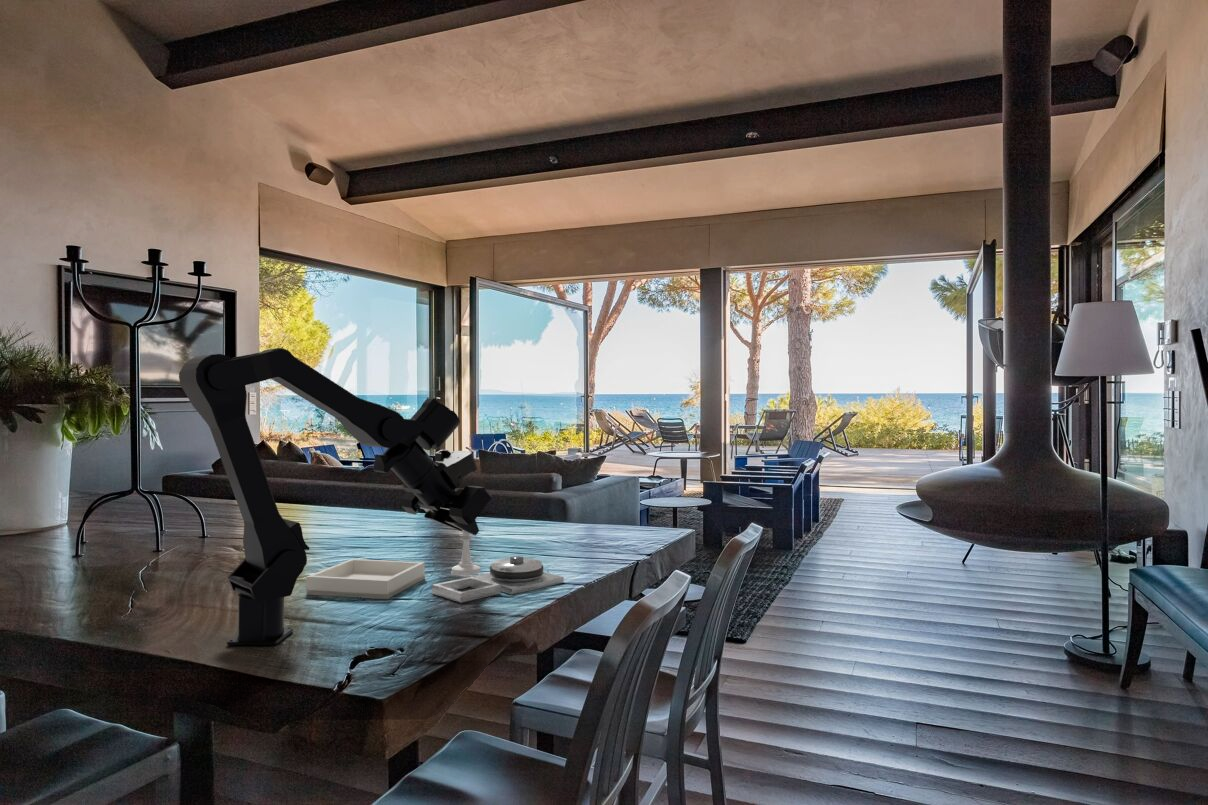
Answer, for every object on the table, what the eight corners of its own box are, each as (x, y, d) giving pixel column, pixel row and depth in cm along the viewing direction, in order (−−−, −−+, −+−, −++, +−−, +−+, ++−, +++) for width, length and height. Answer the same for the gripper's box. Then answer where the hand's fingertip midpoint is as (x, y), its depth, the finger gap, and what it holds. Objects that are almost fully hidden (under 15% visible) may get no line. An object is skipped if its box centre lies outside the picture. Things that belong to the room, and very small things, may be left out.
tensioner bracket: (467, 605, 118) (467, 576, 118) (425, 591, 126) (425, 565, 126) (563, 582, 133) (563, 557, 133) (520, 571, 142) (520, 548, 142)
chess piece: (474, 576, 122) (475, 515, 122) (446, 574, 123) (447, 514, 123) (484, 569, 127) (485, 511, 127) (457, 568, 128) (458, 510, 128)
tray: (387, 599, 121) (387, 581, 121) (306, 594, 124) (306, 576, 124) (424, 578, 135) (424, 562, 136) (351, 574, 138) (351, 558, 138)
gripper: (482, 436, 116) (534, 501, 124) (417, 433, 129) (468, 491, 137) (439, 490, 110) (496, 554, 118) (375, 480, 123) (431, 539, 131)
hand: (473, 532), depth 126 cm, fingers closed on chess piece
